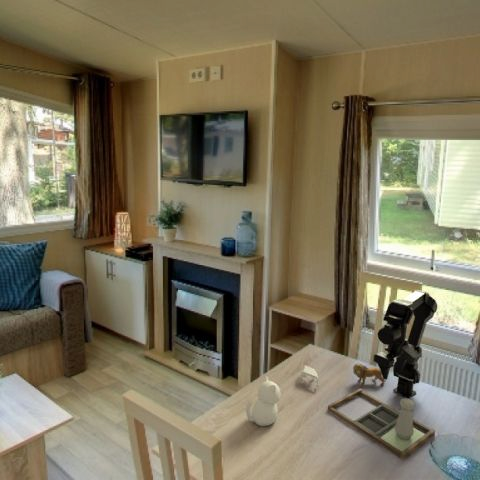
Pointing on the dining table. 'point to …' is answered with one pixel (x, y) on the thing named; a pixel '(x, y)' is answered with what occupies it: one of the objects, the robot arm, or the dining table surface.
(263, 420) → the cat figurine
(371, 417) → the trap pits
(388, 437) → the pad
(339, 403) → the wooden frame
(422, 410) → the dining table surface
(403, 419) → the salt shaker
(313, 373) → the origami figure
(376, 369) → the lion figurine
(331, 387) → the dining table surface
